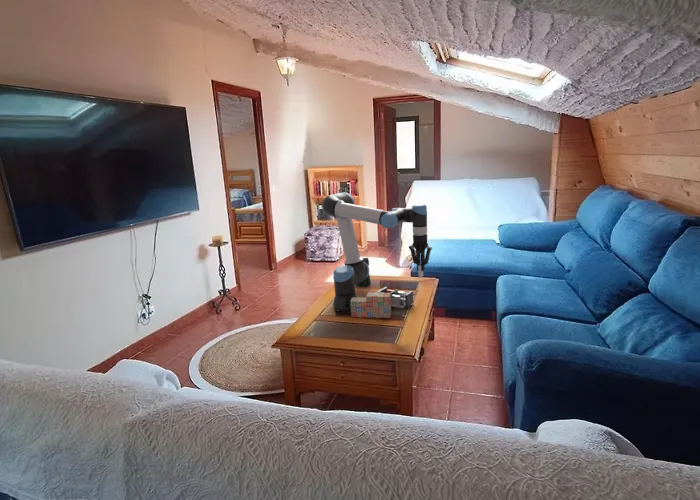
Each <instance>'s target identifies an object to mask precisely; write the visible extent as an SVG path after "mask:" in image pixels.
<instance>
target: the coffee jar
mask: <svg viewBox="0 0 700 500" xmlns="http://www.w3.org/2000/svg"><path fill="white" fill-rule="evenodd" d="M362 258H363V260H364V262H365V263H366V264H367V265H368V267H369V265H370V260H369V257H362ZM371 283H372V282H371V276H370V274H369V275H368V276H367V278H366V279H365V280H364V281H362V282H360V283H358V284H357V285H356V286H357V287H368V286H370V285H371Z"/></svg>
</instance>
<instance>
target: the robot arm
mask: <svg viewBox="0 0 700 500" xmlns="http://www.w3.org/2000/svg"><path fill="white" fill-rule="evenodd" d="M321 209H322V211H323V213H325V214H326V215H327V216H329V217H332V218H333V219H335V220H336V222H337V226H338V230H339V235H340V240H341V245H342V247H343V253H344V256H345V261H344V262H343V263H344V265H341V266H338V267H336V268H335V269H334V270H333V277H332V278H333V284H334V286H333V287H334V299H333V304H332V306H333V310H334V311H336V310H339V311H347V310H351V306H350V301H351V299H352V297H357V298H358V296H357V294H356V286H357V284H358V283H360V282H362V281H364V280H365V279H366V278H367V276H368V275H370V268H369V267H368V265H367V264H366V263H365V262H364V260H363V258H364V257H362V256H361V254H360V250H359V245H358V241H357V237H356V236H357V235H356V232H355V227H354V223H353V220H357V221H361V222H364V223H365V222H366V223H371V224H376V225H381V226H382V227H383V228H385V229H392V228H395V227H396V226H398V225H401V224H402V223H412V240H413V241H412V244H411V245H408V249H409V251H410V253H411V258H412V263H413V264H414V265H416V271H418V278H423V277H424V272H425V271H426V270H425V266H426V265H428V264H429V261H430V255H431V251H432V250H433V247H431V246H429V244H428V234H427V233H428V211H427V210H428V209H427V205H426V204H424V203H422V204H421V203H418V204H417V203H416V204H413V205H412V206H411V208H410V207H409V208H407V207H393V208H392V209H391V210H390V211H388V210H383V209H377V208H373V207H369V206H363V205H357V204H355V200H354V197H353V196H352V195H351V194H350V193H349V192H346V191H345V192H337V193H335V194H329V195H327V196H326V197H324V198H323V200H322V202H321ZM425 252H426V253H425ZM339 311H338V312H339Z"/></svg>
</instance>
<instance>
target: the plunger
mask: <svg viewBox="0 0 700 500" xmlns="http://www.w3.org/2000/svg"><path fill="white" fill-rule="evenodd" d="M393 290H394V291H392V292H391V293H390V295H391V294H393V295H395V291H399V288H396V289H393ZM400 300H401V304H406V307H405V308H406V309H408V308H409V306H410V305H411V304H412V303H413V304H414V292H413V291H411V290H410V291H408V292H406V294H405V297H400ZM411 306H412V305H411ZM411 306H410V307H411Z"/></svg>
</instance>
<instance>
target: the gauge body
mask: <svg viewBox="0 0 700 500" xmlns="http://www.w3.org/2000/svg"><path fill="white" fill-rule="evenodd" d="M394 290H395V289H388V287H387V286H384V287H382V288H380V289H379V290H378V291H376V292H385V293H391V292H392V291H394ZM405 294H407V292H406V291H399V290H397V291H395V295H393V294H391V295H390V296H391V307H394V308H398V309H403V308H404V309H405V308H406V304H401V300H400V297H405Z"/></svg>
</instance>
